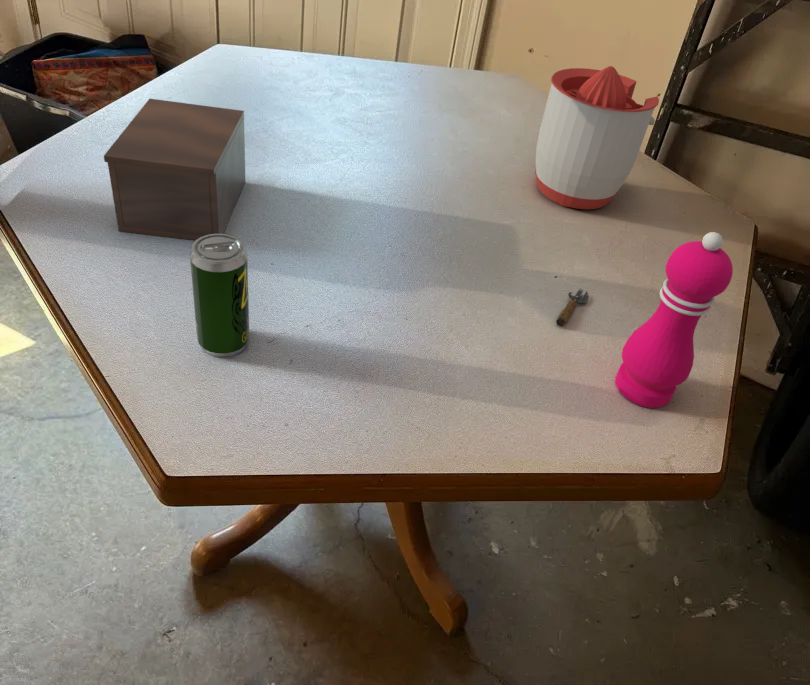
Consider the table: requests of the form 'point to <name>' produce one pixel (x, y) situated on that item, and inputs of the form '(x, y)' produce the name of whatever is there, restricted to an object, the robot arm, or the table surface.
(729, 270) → the pepper mill
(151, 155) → the lid
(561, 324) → the can opener
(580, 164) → the citrus juicer
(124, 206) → the chest
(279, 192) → the table surface
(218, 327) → the beer can
